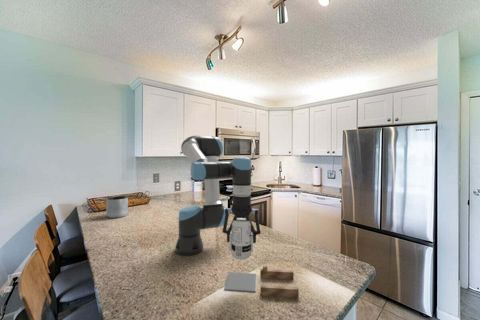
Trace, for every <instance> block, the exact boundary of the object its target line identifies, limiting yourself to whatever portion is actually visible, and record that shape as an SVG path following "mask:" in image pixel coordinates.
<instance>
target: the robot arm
mask: <svg viewBox="0 0 480 320" xmlns="http://www.w3.org/2000/svg"><path fill="white" fill-rule="evenodd" d="M180 149H181V153H182V154H183V155H184V156H185V157H186V158H187V159H188V161H189V163H190V176H191V179H193V180H196V181H197V180H199V181H203V180H204V181H203V182H204V200H205V202H203V204H202V207H201V206H200V205H188V206H186V207H185V206H184V207H183V208H181V209H180V210H179V212H178V236H177V237H178V238H177V241H176V244H175V246H174V247H175V249H174V250H175V251H174V252H175V253H176V254H177V255H180V256H185V257H186V256H193V255H197V254H200V253H201V252H202V251H203V250H204V242H203V240H202V237H201V236H202V235H201V230H208V229H213V228H215V229H217V228H220V227H223V228H222V233H223V234H226V242H227V243H229V250H228V251H229V252H231V245H232V222H233V220H236V219H237V218H246V220H247V221H250V223H251V253H253V252H254V244H256V241H257V235H261V227H260V220H259V215H258V214H259V208H252V196H251V194H252V159H251V158H249V157H234V158H233V159H232V161H231V160H230V161H219V159H221V156H222V155H223V152H224V146H223V141H222V140H221V139H220V137H218V136H213V135H212V136H211V135H209V136H206V135H205V136H204V135H192V136H189V137H187V138H185V139H184V140H183V141H182V143H181V147H180ZM226 179H232V205H231V207H229V208H228V207H226V206H224V204H223V202H222V201H221V198H220V197H221V196H220V195H221V193H220V180H226ZM231 212H232V214H234V216H233V219H232V221H231V222H230V225H229V227H228V223H229V218H230V214H231ZM251 213H252V214H253V215H254V220H255V222H254V223H255V226H256V229H255V226H254V224H253V222H252V219H251V216H250V214H251ZM227 227H228V228H227Z"/></svg>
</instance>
